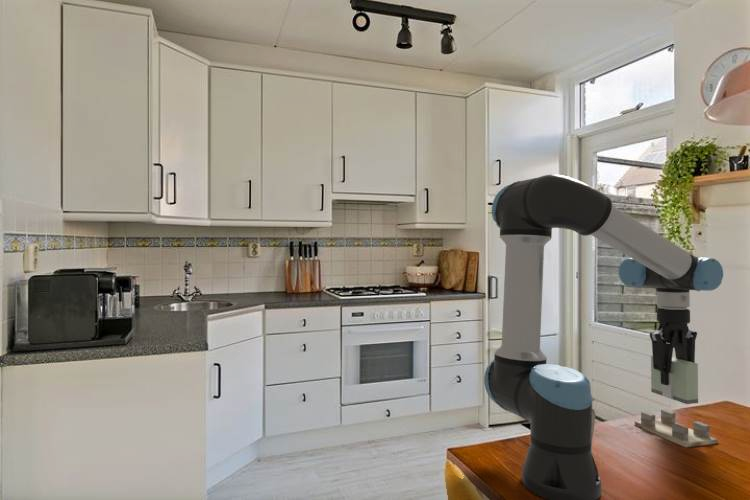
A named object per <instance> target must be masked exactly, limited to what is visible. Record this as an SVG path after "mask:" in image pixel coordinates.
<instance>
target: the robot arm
mask: <svg viewBox="0 0 750 500" xmlns="http://www.w3.org/2000/svg"><path fill="white" fill-rule="evenodd" d="M491 215H492V219H493V221H494V222H495V223H496V224H495V225H496V226H497V227H498V228H499V238H500V239H501V241H503V243H505V255H504V256H505V257H504V258H505V259H504V262H505V263H504V281H503V282H504V284H503V301H502V303H503V305H502V306H503V309H502V328H501V345H500V347H498V348H497V349H496V350H495V351H494V355H493V357H494V359H493V360H491V361H490V364H489V365H488V366H487V367H486V369H485V371H484V372H485V373H484V377H483V379H484V380H483V383H484V384H483V385H484V388H485V392H486V393H487V395H488V397H489V399H490V400H491V401H492V402H493V403H495V405H498V407H500V408H501V409H503V410H504V411H506V412H510V413H512V414H514V415H515V416H517V417H520V418H522V419H524V420H526V421H527V422H529V423H530V443H529V447H528V450H527V452H526V455H525V459H524V463H523V465H522V468H521V481H522V484H523V486H524V487H525V488H526V489H527V490H528V491H530V492H531V493H533V494H534V495H537V496H538V497H541V498H543V499H546V500H598V499H599V498H600V497H601V495H602V480H601V477H600V474H599V471H598V467H597V464H596V462H595V458H594V455H593V452H592V446H591V429H592V409H593V395H592V388H591V383H590V380H589V378H588V377H587V376H586V375H585V374H584V373H582V372H581V371H578V370H576V369H575V368H572V367H569V366H568V367H567V366H561V365H559V364H551V363H547V355H546V354H545V353H544V352H543V351H542V350H541V330H542V310H543V309H542V308H543V307H542V306H543V305H542V304H543V283H544V261H545V260H544V259H545V258H544V256H545V255H544V254H545V246H546V245H547V243H549V242H550V241H551V240H552V238H553V237H552V234H553V229H554V228H555V229H565V230H570V231H573V232H575V233H577V234H578V235H581V236H583V237H584V236H585V237H586V236H587V237H588V236H592V237H594V238H596V239H597V240H598V241H601V242H602V243H603V244H606V245H607V246H610V247H611V248H613V249H615V250H617V251H618V252H621V254H623V255H625V256H627V257H629V258H625V259H624V260H623V261H622V262H620V264H619V267H618V277H619V280H620V281H621V283H622V284H624V285H625V286H627V287H630V288H631V287H632V288H634V287H635V288H648V287H649V288H656V290H655V291H656V306H657V309H656V321H657V322H658V323H659V326H658V328H657V330H656V331H655V332H650V333H649V338H650V341H651V346H652V355H653V368H654V369H656V370H658V371H660V373H661V384H662V395H661V396H662V397H664V398H667V397H668V398H667V399H670V398H671V400H673V399H672V398H673V373H670V369H671V362H672V357H673V354H674V353H675V354H674V355H675V358H677V359H681V360H685V361H689V362H693V363H696V359H695V357H696V355H695V354H696V338H697V335H698V332H697V331H695V330H691V329H689V326H688V324H690V323H691V310H690V308H689V307H690V306H691V303H690V302H691V301H690V297H691V296H690V292H691V291H696V292H701V291H705V292H706V291H714V290H716V289H718V288H719V287H720V285H721V284H722V282H723V278H724V269H723V266H722V264H721V263H720V261H719V260H717V259H716V258H712V257H705V256H702V257H698V256H695V255H694V254H692V253H690V252H688V251H687V250H686V249H683V248H681V247H680V246H678V245H677V244H676V243H674V242H673V241H671V240H669V239H667V238H665V237H664V236H662V235H661V234H659V233H658V232H656V231H654V230H653V229H652V228H649V227H648V226H646V225H645V224H643V223H642V222H640V221H638V220H636V219H635V218H633V217H632V216H630V215H629V214H627V213H625V212H624V211H623V210H621V209H619V208H618V207H616V206H614V203H613V200H612V198H610V196H608V195H607V194H605V193H603V192H601V191H599V190H598V189H597V188H594V187H593V186H591V185H589V184H587V183H584V182H583V181H581V180H578V179H575V178H573V177H570V176H565V175H561V174H546V175H545V174H544V175H542V176H538V177H534V178H529V179H528V178H527V179H524V180H518V181H514V182H513V183H510V184H509V185H506V186H504V187H502V188H501V189H500V190H499V191H498V192H497V194H496V195H495V196H494V198H493V201H492V203H491Z"/></svg>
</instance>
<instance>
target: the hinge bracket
mask: <svg viewBox="0 0 750 500" xmlns="http://www.w3.org/2000/svg"><path fill="white" fill-rule="evenodd" d="M692 424H693V427H692V428H693V429H692V428H691V427H690V428H689V427H687V426H685V425H683V424H679V423H677V422H676V412H674V411H671V410H668V409H660V418H656V415H655V414H653V413H650V412H648V411H641V412H640V420H635V421H634V426H636V427H638V428H640V427H641V428H640V429H643V430H645V431H648V432H650V433H652V434H654V435H656V436H659V437H661V438H663V439H665V440H668V441H671V442H672V443H675V444H677V445H678V446H679V445H680V446H682V447H684V448H691V447H698V446H699V447H700V446H701V447H702V446H706V445H708V446H709V445H714V444H718V442H719V441H718V439H717V438H716V437H713V436H711V432H710V431H711V427H710V426H711V425H709V424H706V423H703V422H701V421H698V420H697V421H693V423H692Z"/></svg>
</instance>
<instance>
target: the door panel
mask: <svg viewBox="0 0 750 500" xmlns="http://www.w3.org/2000/svg"><path fill="white" fill-rule="evenodd" d="M650 369H651V370H650V374H651V375H650V378H651V379H650V382H651V383H650V384H651V387H650V389H651V391H650V392H651V393H653V394H655V395H659V396H662V384H661V373H660V371H658V370H656V369H654V368H653V354H652V355H651V356H650ZM698 372H699V364H698V363H696V362H695V363H693V362H689V361H685V360H681V359H677V358H676V357H673V356H672V362H671V369H670V373H673V398H672V399H671V398H668V397H666V398H667V399H671V400H673V401H677V402H679V403H682V404H684V405H685V404H686V405H691V404H699V373H698Z"/></svg>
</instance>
